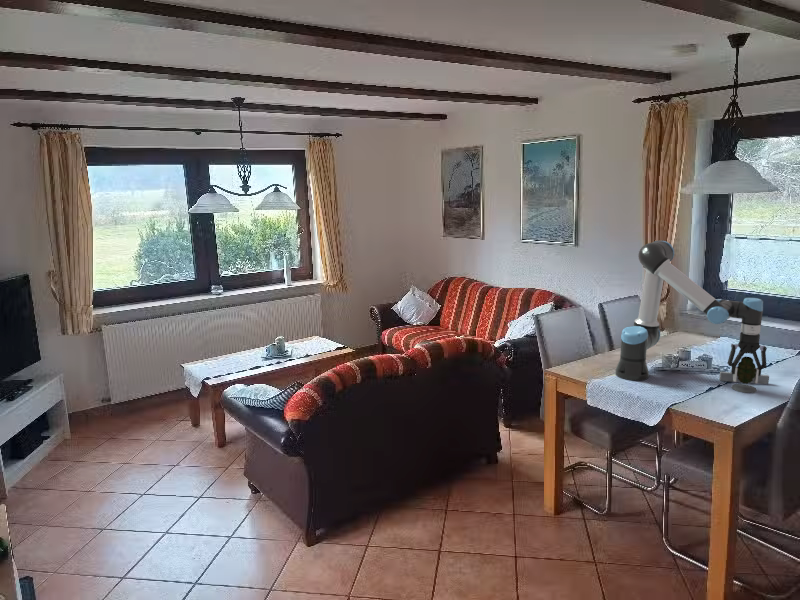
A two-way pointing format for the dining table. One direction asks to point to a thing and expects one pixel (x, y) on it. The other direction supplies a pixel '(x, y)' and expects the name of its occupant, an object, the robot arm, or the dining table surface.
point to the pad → (744, 388)
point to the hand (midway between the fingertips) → (744, 381)
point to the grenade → (746, 370)
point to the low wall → (729, 377)
